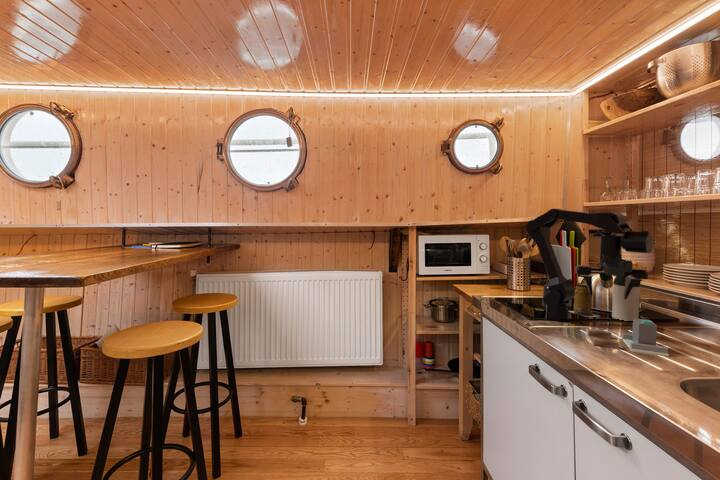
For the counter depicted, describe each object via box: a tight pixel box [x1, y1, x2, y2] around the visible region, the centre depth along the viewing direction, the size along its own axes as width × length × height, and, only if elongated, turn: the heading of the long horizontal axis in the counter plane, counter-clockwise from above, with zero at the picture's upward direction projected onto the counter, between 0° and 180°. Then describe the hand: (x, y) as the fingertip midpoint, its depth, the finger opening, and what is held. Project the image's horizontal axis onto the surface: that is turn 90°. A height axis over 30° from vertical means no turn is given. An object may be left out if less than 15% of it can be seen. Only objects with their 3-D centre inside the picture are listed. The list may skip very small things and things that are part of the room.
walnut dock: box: [586, 328, 620, 350], centre depth 103 cm, size 6×12×2 cm, turn 154°
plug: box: [631, 318, 658, 346], centre depth 98 cm, size 4×6×8 cm, turn 154°
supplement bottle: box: [541, 278, 549, 308], centre depth 145 cm, size 7×7×12 cm
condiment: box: [568, 282, 600, 318], centre depth 134 cm, size 7×8×12 cm
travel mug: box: [611, 275, 642, 322], centre depth 127 cm, size 8×8×18 cm
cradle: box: [620, 332, 670, 357], centre depth 98 cm, size 8×12×2 cm, turn 154°
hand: (608, 297), depth 111 cm, fingers open, 9 cm apart
